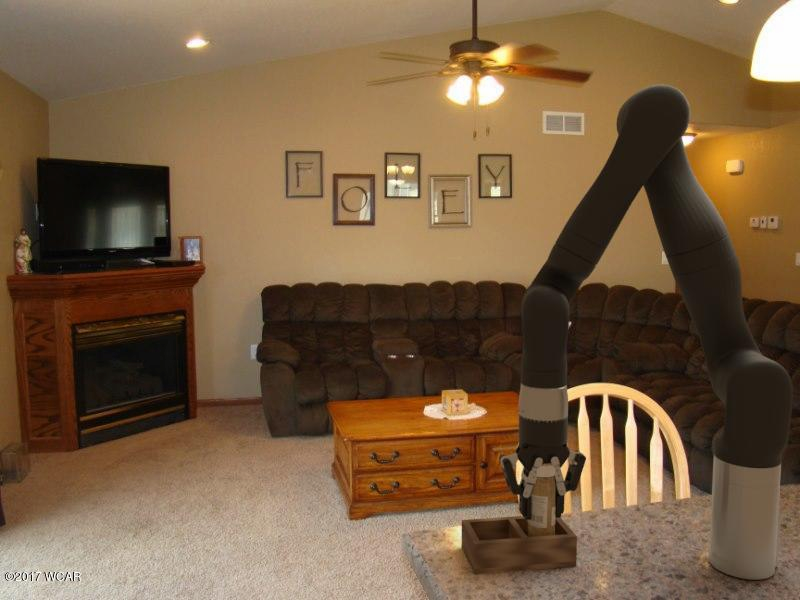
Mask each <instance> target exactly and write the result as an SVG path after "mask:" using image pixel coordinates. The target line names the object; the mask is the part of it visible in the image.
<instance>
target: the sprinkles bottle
mask: <svg viewBox="0 0 800 600" xmlns="http://www.w3.org/2000/svg"><path fill="white" fill-rule="evenodd" d="M556 471H557V470H556ZM534 472H536V471H534ZM528 474H529V473H528ZM555 485H556V483H555V467H554V466H552V464H551V463H545V464H542V466H541V467H540V468H537V480H536V483H535V485H533V488H532V491H531V494H530V497H531V519H530V520H528V536H527V537H537V536H550V535H555V514H556V498H555Z"/></svg>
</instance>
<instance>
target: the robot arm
mask: <svg viewBox="0 0 800 600" xmlns="http://www.w3.org/2000/svg"><path fill="white" fill-rule="evenodd" d="M690 120H691V107H690V104H689V101H688V99H687V97H686V95H685V94H684V93H683V92H682V91H681V90H679V88H677V87H675V86H672V85H670V84H665V83H664V84H663V83H662V84H661V83H660V84H653V85H650V86H646V87H644V88H641V89H639V90H638V91H637V92H635V93H633V95H631V96H630V97H629V98H627V100H625V102H624V103H623V104H622V105H621V107H620V108H619V111H618V114H617V117H616V131H617V135H618V136H617V139H616V140H615V142H614V146H613V147H612V150H611V152H610V154H609V156H608V158H607V160H606V162H605V164H604V166H603V167H602V169H601V170H600V172H599V174H598V175H597V177H596V178H595V180H594V182H593V183H592V185H591V186H590V187H589V189H588V190H587V192H586V193H585V194H584V196H583V197H582V199H581V200H580V202H579V203H578V204H577V206H576V207H575V209H574V210H573V211H572V213H571V215H570V217H569V218H568V220H567V221H566V223H565V224H564V226H563V227H562V230H561V231H560V234H559V235H558V237H557V239H556V241H555V243H554V244H553V246H552V248H551V250H550V253H549V254H548V256H547V259H546V261H545V263H543V265H542V266H541V268H540V270H539V271H538V272H537V274H536V275H535V277H534V279H533V280H532V282H531V283H530V285H529V286H528V288H527V290H526V292H525V293H524V296H523V297H522V300H521V325H522V329H521V330H522V331H521V333H522V347H523V348H522V354H521V359H520V360H521V363H520V390H519V396H518V397H519V398H518V405H517V406H518V407H517V408H518V409H517V410H518V445H517V447H516V450H515V452H514V453H511V454H509V455H505V454H504V453H503V454H501V455H499V456H498V457H499V462H500V463H499V464H500V466H501V470H502V473H503V476H504V479H505V482H506V485H507V489H509V490H510V491H511V493H512V494H513V495H514V496H515V495H518V496H519V497H518V502H519V503H518V511H519V513H520V515H521V516H523V517H524V518H525V519H526V520H530V519H531V497H530V494H531V491H532V488H533V485H535V483H536V480H537V468H540V467H541V466H542V464H545V463H551V464H552V466H554V467H555V483H556V485H555V498H556V514H555V517H556V518H562V515H563V514H564V513H565V497H566V493H568V492H570V491H571V492H575V491H576V490H577V489H578V486H579V482H580V479H581V476H582V474H583V471H584V466H585V464H586V460H587V458H586V457H587V456H585V455H584V453H582V452H581V451H580V450H576V449H575V450H574V451H573V450H570V448H569V446H568V429H569V428H568V426H569V425H568V424H569V422H568V421H569V393H568V358H567V357H568V356H567V347H568V346H567V345H568V337H569V327H570V326H569V325H570V305H571V303H572V301H573V299H574V298H575V296H576V294H577V293H578V291H579V290H580V288H581V286H582V284H583V282H584V281H585V280H587V279H588V278H589V277H590V276H591V274H592V273H593V271H594V270H595V268H596V267H597V265H598V263H599V262H600V260H601V258H602V257H603V255H604V253H605V251H606V249H607V248H608V246H609V245H610V242H611V241H612V240H613V237H614V236H615V234H616V232H617V231H618V229H619V227H620V225H621V224H622V221H623V219H624V218H625V216H626V214H627V213H628V211H629V209H630V207H631V206H632V203H633V202H634V201H635V199H636V197H637V196H638V194H639V193H640V191H641V190H642V188H644V189H643V190H644V192H645V194H646V197H647V200H648V203H649V207H650V211H651V215H652V218H653V221H654V225H655V227H656V230H657V234H658V236H659V240H660V243H661V247H662V249H663V252H664V255H665V257H666V260H667V263H668V265H669V269H670V270H671V274H672V276H673V279H674V281H675V283H676V285H677V287H678V290H679V293H680V295H681V298H682V300H683V302H684V304H685V307H686V309H687V311H688V313H689V316H690V318H691V320H692V322H693V324H694V326H695V328H696V331H697V334H698V335H697V336H698V339H699V341H700V344H701V348H702V349H701V350H702V352H703V357H704V360H705V361H704V362H705V365H706V369H707V373H708V376H709V377H708V378H709V380H710V384H711V387H712V390H713V392H714V393H715V395H716V396H717V398H718V399H719V400H720V401H721V402H722V403H723V404H725V409H724V410H725V412H724V421H723V422H724V423H723V430H722V432H720V433H718V434H717V436H716V437H714V438H715V439H714V445H713V461H712V462H713V463H712V483H711V509H710V527H709V551H708V553H709V554H708V561H709V564H710V565H712V567H713V568H715V569H716V570H718V571H720V572H722V573H724V574H726V575H728V576H731V577H736V578H740V579H745V580H754V581H755V580H756V581H757V580H758V581H759V580H765V579H769V578H771V577H772V576H774V574H775V573H776V570H775V569H776V568H777V567H779V556H780V555H779V553H780V537H781V522H782V521H781V520H782V508H781V506H780V494H781V493H780V491H781V473H782V458H783V452H784V451H785V449H786V447H787V446H788V442H789V437H790V430H791V419H792V410H793V399H794V397H793V395H794V394H793V393H794V391H793V383H792V382H793V381H792V380H791V376H790V375H789V372H788V371H787V369H786V368H784V367H783V366H782V365H781V364H780V363H779V362H777V361H775V360H773V359H771V358H768V357H767V356H764V355H763V354H762V352H761V351H760V349H759V347H758V345H757V343H756V341H755V339H754V337H753V335H752V332H751V330H750V327H749V326H748V325H749V324H748V323H747V320H746V317H745V313H744V307H743V288H742V287H743V286H742V271H741V266H740V262H739V259H738V255H737V253H736V252H737V251H736V250H735V249H736V248H735V247H734V243H733V241H732V239H731V236H730V234H729V230H728V228H727V225H726V224H725V222H724V219H723V218H722V216H721V214H720V212H719V210H718V209H717V207H716V206H715V204H714V203H713V201H712V200H711V198H710V197H709V196H708V194H707V193H706V192H705V190H704V188H703V187H702V185H701V184H700V183H699V181H698V179H697V177H696V175H695V174H694V172H693V169H692V166H691V163H690V162H689V161H690V160H689V158H688V155H687V151H686V148H685V144H684V141H683V137H684V135H685V134H686V131H687V130H688V127H689V124H690ZM518 461H519V462H520V464H521V465H522V467H523V468H522V471H521V474H520V477H521V478H520V481H519V484H518V481H517V477H516V475H515V469H516V468H517V462H518ZM566 461H568V463H569V465H568V468H567V471H566V474H565V477H564V475H563V473H562V469H561V468H562V467H563V466H564V465H565V462H566ZM556 470H557V471H556ZM534 471H536V472H534ZM528 473H529V474H528Z"/></svg>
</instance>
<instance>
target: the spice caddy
mask: <svg viewBox="0 0 800 600" xmlns="http://www.w3.org/2000/svg"><path fill="white" fill-rule="evenodd" d="M527 536H528V520H526V519H525V518H524V517H523V516H522V515H516V516H515V515H514V516H502V517H500V516H499V517H489V518H488V517H487V518H475V519H471V518H470V519H462V520H461V549H462V552H463V554H464V556H465V558H466V560H467V562H468V563H469V566H470V567H471V569H472V571H473V574H474V575H482V574H496V573H497V574H498V573H506V572H518V571H519V572H520V571H521V572H522V571H530V570H532V571H533V570H542V569H543V570H544V569H545V570H546V569H555V568H556V569H557V568H559V569H560V568H568V567H577V561H578V559H577V557H578V555H577V554H578V536H577V535H576V534H575V532H574V531H573V530H572V529H571V528H570V526H569V525H568V524H567V523H566V522H565V521H564V520H563V518H562V517H560V518H556V517H555V535H550V536H537V537H527Z"/></svg>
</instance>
